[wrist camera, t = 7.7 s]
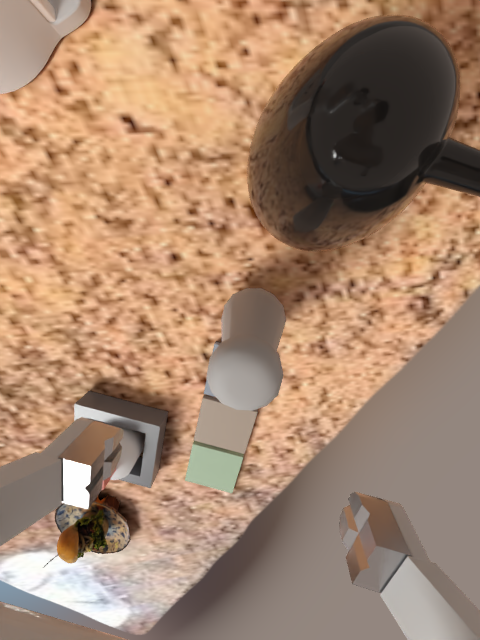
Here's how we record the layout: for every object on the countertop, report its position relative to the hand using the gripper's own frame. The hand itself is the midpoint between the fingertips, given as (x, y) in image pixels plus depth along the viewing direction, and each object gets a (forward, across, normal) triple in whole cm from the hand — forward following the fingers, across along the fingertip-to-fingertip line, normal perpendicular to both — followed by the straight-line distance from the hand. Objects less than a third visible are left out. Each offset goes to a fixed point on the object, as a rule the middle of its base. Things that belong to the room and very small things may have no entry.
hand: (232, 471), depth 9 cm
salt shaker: (+18, 0, -1) cm, 18 cm away
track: (+18, 0, +14) cm, 23 cm away
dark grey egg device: (+18, -2, -13) cm, 22 cm away
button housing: (+18, +12, +19) cm, 29 cm away
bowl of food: (+19, +16, +37) cm, 45 cm away
